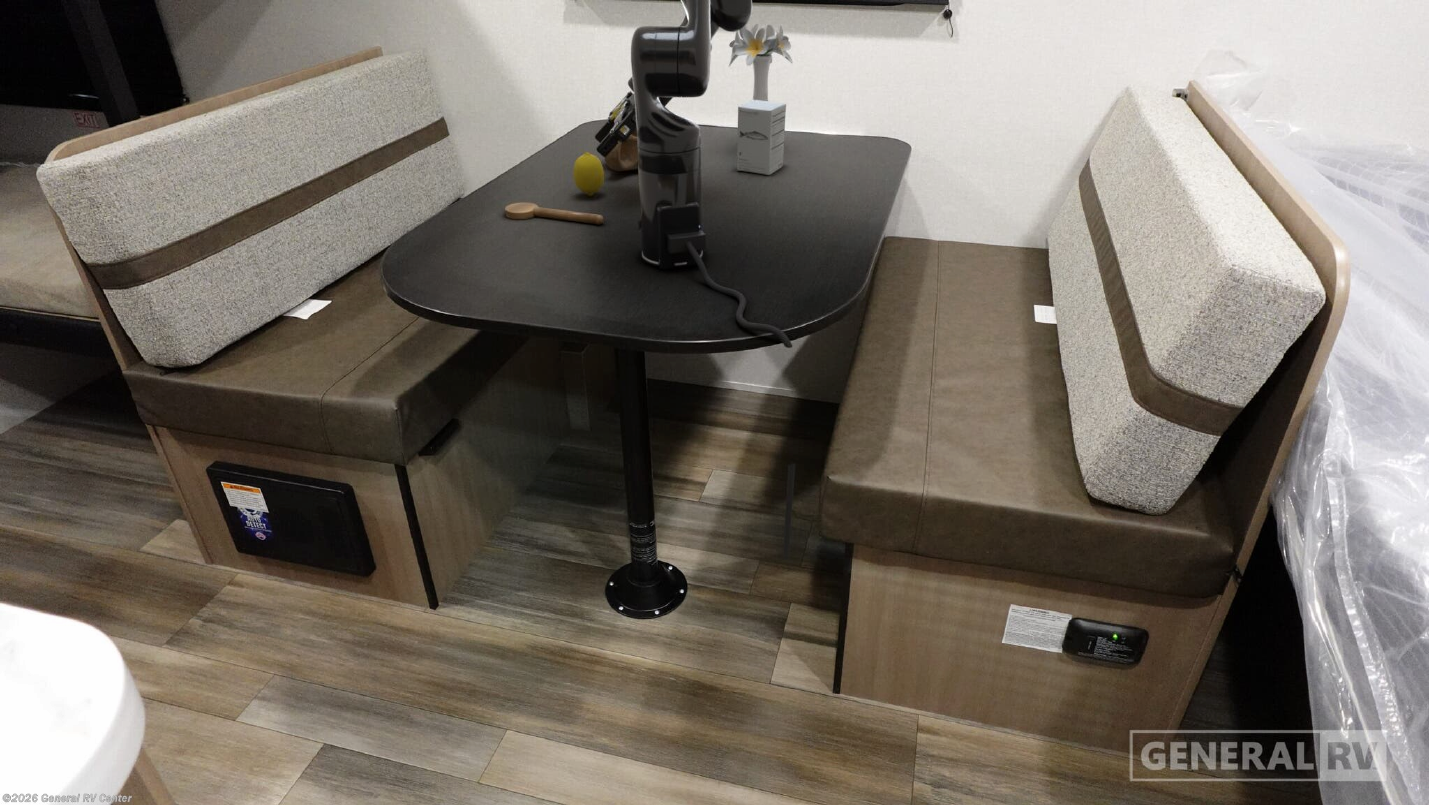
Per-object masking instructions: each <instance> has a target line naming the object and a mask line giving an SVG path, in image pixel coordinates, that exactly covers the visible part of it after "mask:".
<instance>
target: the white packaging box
mask: <svg viewBox="0 0 1429 805" xmlns="http://www.w3.org/2000/svg"><path fill="white" fill-rule="evenodd" d="M786 110H787V103H786V102H785V103H784V102H776V101H770V100H768V101H761V100H753V99H751V100H749V101H747V102H744V103H742V104H740V105H739V106H737V143H736V146H737V148H736V171H740V172H741V171H742V172H749V173H754V174H761V175H766V176H770V175H772V174H773V173H775V172H777V171H778V170H780V169H781V168H782V167H783V166H784V155H785V154H784V152H785V134H786V133H785V132H786V112H787V111H786Z"/></svg>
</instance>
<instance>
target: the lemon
mask: <svg viewBox="0 0 1429 805" xmlns="http://www.w3.org/2000/svg"><path fill="white" fill-rule="evenodd" d="M572 172H573V173H572V174H573V182H574V184H575V185H576V187H577V189H578V190H579V191H581V192H582V193H585V194H586V195H587V196H589V197H593V195H594V194H595V193H596V192H598V191H600V189H602V187H603V185H604V181H605V170H604V166H603V164H602V161H601V159H599V158H598V157H597V156H596V155H594V154H591V153H590V152H588V151H586V152H585V153H584V154H582V155H580V156H579V157H578V158H576V160H575V162H574V165H573V171H572Z"/></svg>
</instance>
